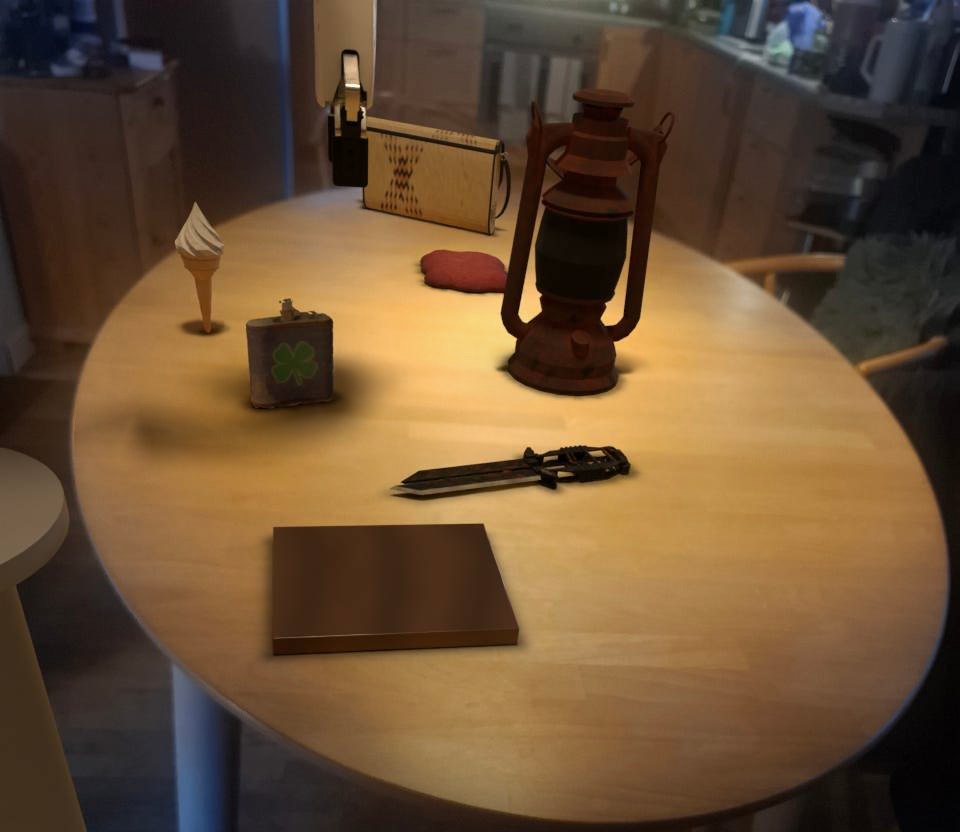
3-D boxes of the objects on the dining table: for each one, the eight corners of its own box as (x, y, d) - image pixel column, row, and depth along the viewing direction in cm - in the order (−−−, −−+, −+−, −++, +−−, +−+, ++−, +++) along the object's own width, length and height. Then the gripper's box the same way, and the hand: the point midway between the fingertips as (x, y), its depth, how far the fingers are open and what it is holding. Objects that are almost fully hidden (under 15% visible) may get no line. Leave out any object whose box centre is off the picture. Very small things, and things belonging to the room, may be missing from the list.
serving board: (273, 654, 64) (272, 638, 63) (273, 541, 75) (272, 526, 74) (517, 644, 67) (519, 628, 66) (482, 537, 79) (483, 523, 78)
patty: (519, 295, 133) (520, 281, 131) (427, 291, 130) (427, 277, 129) (499, 260, 146) (501, 247, 145) (415, 256, 144) (416, 243, 142)
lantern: (505, 394, 103) (539, 96, 85) (484, 350, 114) (510, 76, 95) (646, 396, 107) (708, 109, 88) (612, 352, 117) (661, 88, 99)
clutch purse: (512, 230, 162) (522, 137, 152) (497, 238, 156) (506, 142, 147) (369, 200, 170) (370, 110, 160) (350, 207, 164) (350, 114, 155)
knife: (394, 503, 82) (394, 490, 81) (378, 469, 87) (378, 456, 86) (638, 482, 89) (641, 470, 89) (611, 452, 94) (614, 440, 93)
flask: (254, 410, 94) (247, 308, 88) (247, 399, 96) (239, 299, 90) (337, 401, 98) (336, 302, 92) (328, 390, 100) (326, 293, 94)
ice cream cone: (176, 328, 110) (160, 197, 101) (217, 321, 114) (205, 193, 104) (199, 343, 107) (184, 209, 98) (240, 335, 111) (230, 204, 101)
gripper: (299, -59, 80) (305, 152, 91) (302, -53, 67) (309, 193, 78) (382, -50, 82) (379, 157, 93) (401, -42, 69) (395, 198, 79)
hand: (347, 174), depth 85 cm, fingers open, 9 cm apart
